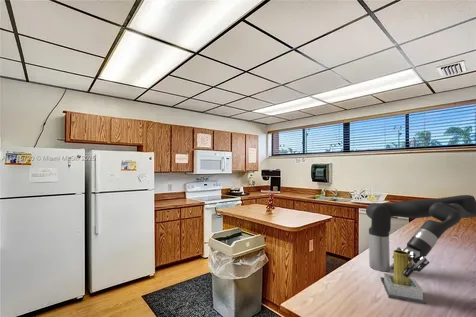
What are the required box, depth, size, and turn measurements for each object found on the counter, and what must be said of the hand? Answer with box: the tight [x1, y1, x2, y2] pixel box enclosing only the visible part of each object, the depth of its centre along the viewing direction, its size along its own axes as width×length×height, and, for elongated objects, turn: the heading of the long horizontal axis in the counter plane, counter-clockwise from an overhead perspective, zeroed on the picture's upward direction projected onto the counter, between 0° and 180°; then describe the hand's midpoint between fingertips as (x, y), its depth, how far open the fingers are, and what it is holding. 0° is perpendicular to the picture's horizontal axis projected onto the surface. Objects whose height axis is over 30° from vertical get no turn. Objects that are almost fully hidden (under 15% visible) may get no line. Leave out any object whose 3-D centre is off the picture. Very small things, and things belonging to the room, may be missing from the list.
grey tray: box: [380, 273, 426, 305], centre depth 101 cm, size 17×12×5 cm
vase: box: [392, 249, 411, 286], centre depth 99 cm, size 6×6×14 cm
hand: (398, 272), depth 99 cm, fingers closed on vase, 5 cm apart
